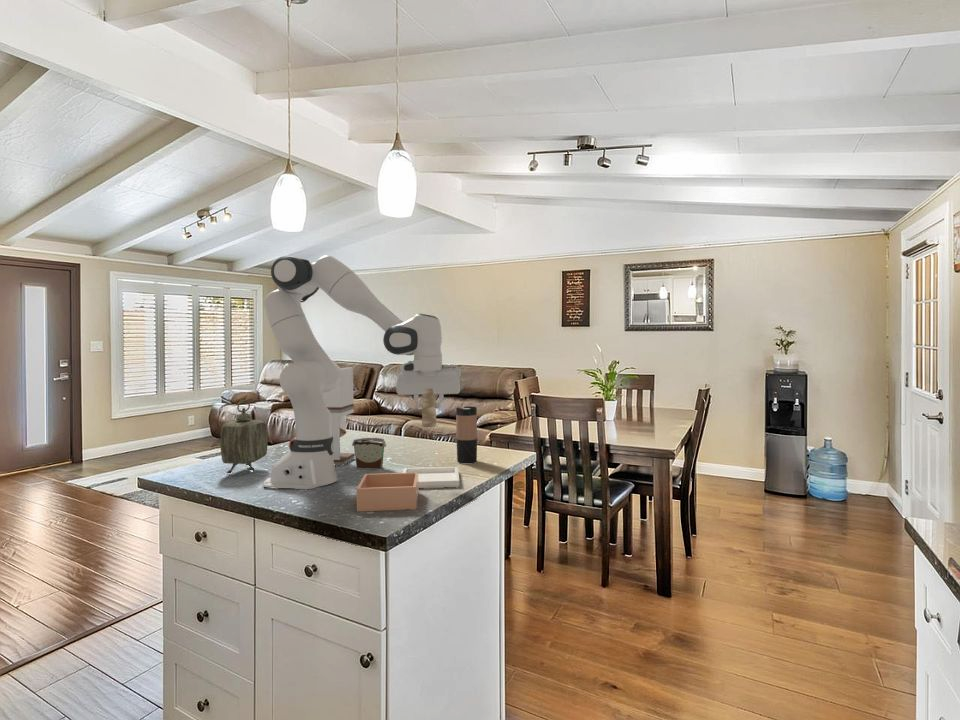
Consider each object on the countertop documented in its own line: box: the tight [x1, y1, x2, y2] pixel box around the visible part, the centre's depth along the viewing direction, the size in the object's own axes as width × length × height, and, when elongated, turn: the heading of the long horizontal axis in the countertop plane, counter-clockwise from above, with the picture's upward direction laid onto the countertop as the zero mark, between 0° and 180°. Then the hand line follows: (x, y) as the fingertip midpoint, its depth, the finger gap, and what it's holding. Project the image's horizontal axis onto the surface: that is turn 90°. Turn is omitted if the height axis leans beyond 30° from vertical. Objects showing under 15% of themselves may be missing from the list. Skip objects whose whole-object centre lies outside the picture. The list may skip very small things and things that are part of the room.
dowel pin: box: [421, 389, 437, 428], centre depth 170 cm, size 4×4×12 cm
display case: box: [323, 366, 355, 466], centre depth 199 cm, size 11×11×35 cm
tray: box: [402, 466, 460, 489], centre depth 171 cm, size 18×18×2 cm
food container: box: [351, 437, 387, 470], centre depth 191 cm, size 12×6×10 cm, turn 77°
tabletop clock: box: [219, 399, 268, 474], centre depth 185 cm, size 14×9×25 cm, turn 171°
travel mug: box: [455, 405, 478, 464], centre depth 197 cm, size 8×8×20 cm
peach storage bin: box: [356, 472, 420, 512], centre depth 150 cm, size 16×16×6 cm
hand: (428, 408), depth 170 cm, fingers closed on dowel pin, 4 cm apart
